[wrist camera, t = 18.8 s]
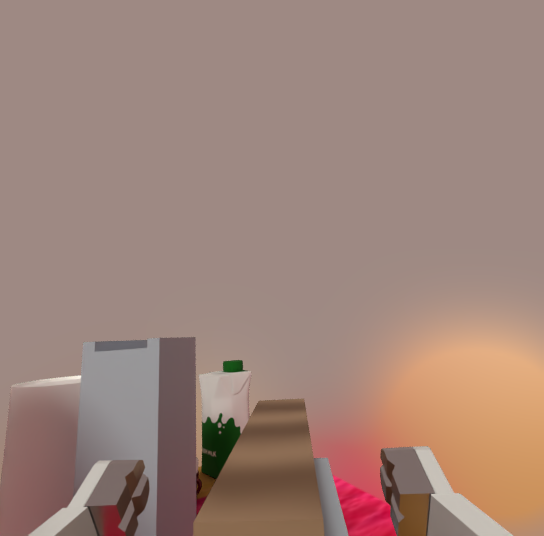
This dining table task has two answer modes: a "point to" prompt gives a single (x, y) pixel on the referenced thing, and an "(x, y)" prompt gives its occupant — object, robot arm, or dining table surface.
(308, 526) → the walnut rail
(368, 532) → the dining table surface
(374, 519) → the dining table surface
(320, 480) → the gray rectangular block
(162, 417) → the bracket tower
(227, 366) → the milk carton
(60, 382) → the canister
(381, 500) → the dining table surface
